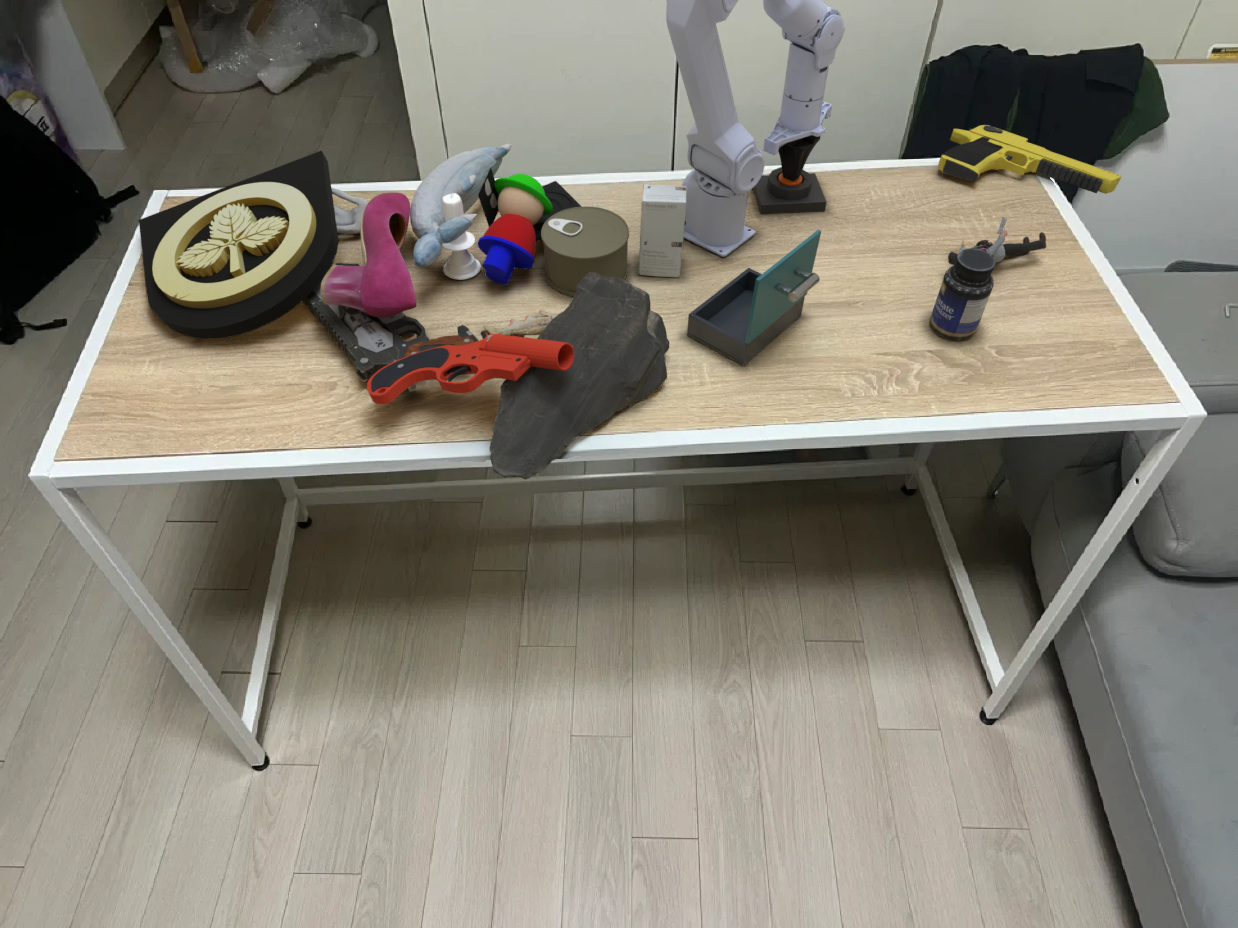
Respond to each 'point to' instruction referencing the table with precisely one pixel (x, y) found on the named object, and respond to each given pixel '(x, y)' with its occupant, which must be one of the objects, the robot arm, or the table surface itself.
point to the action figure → (1003, 246)
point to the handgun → (1018, 159)
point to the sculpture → (449, 177)
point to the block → (789, 194)
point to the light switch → (555, 204)
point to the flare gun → (469, 364)
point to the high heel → (376, 263)
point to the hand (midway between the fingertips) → (790, 177)
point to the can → (584, 246)
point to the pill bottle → (963, 295)
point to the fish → (524, 326)
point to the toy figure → (510, 223)
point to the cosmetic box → (662, 230)
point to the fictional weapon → (376, 334)
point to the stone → (581, 375)
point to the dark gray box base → (735, 320)
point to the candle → (459, 244)
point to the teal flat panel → (783, 286)
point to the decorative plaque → (241, 251)
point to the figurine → (349, 214)
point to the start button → (788, 182)
